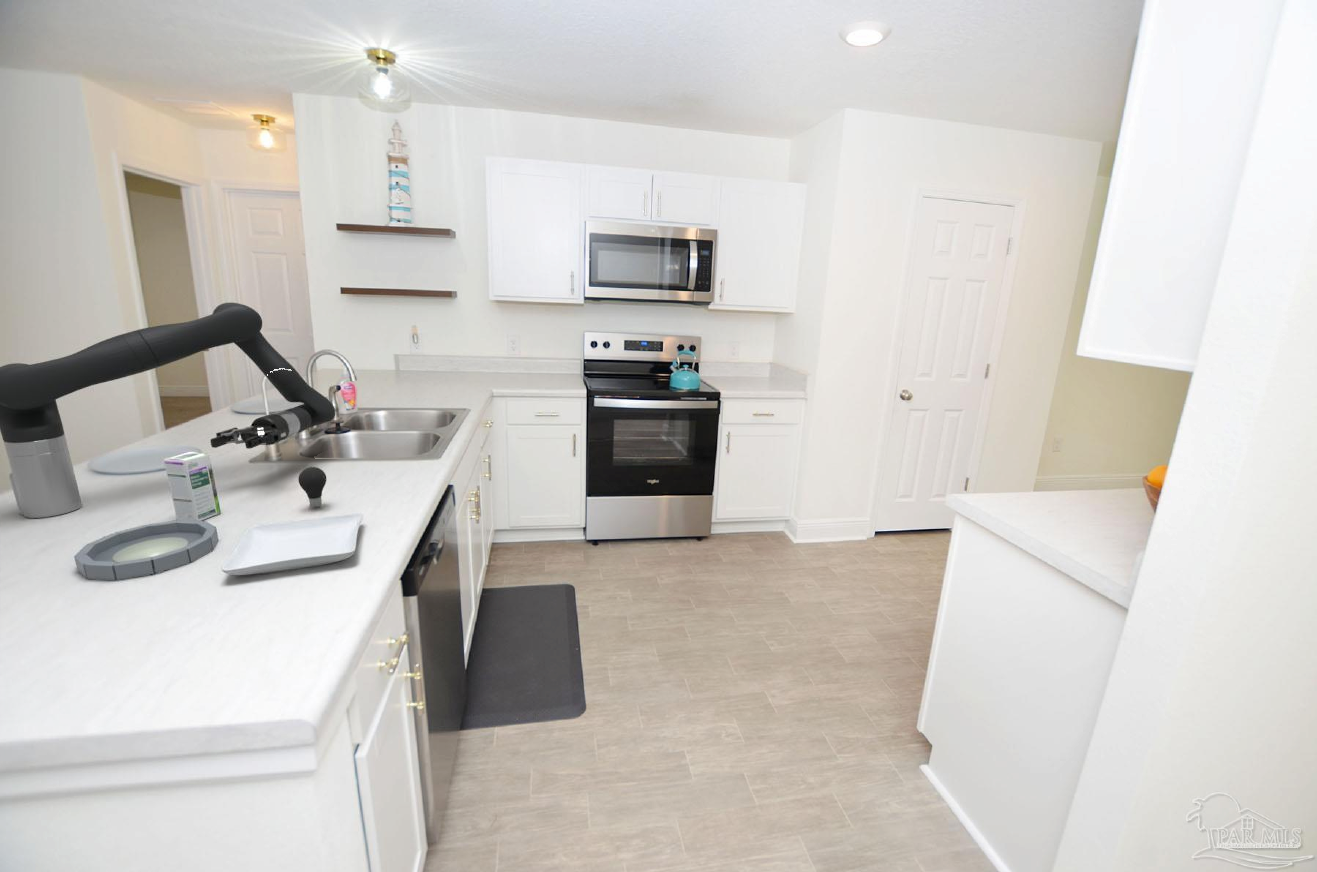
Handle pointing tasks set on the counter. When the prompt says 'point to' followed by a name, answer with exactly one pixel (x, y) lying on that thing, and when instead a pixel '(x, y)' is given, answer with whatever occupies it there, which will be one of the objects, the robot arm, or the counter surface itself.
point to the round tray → (146, 549)
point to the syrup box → (192, 486)
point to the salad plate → (294, 544)
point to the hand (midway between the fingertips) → (229, 444)
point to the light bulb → (313, 484)
